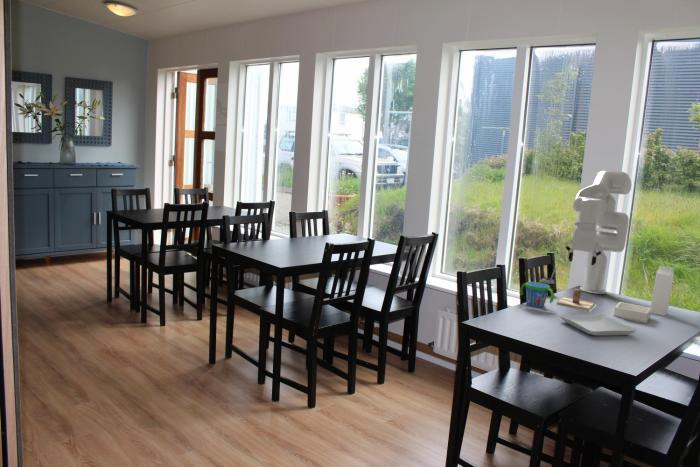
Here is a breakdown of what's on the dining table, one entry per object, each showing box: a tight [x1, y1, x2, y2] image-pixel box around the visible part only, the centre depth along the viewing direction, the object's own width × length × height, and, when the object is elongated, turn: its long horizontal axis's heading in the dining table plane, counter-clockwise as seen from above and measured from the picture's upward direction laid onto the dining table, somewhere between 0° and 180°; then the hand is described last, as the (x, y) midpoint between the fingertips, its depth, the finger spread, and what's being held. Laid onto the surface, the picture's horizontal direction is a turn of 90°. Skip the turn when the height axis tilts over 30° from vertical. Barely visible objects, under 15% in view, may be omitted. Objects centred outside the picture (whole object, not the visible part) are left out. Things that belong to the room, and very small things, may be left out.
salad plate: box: [559, 313, 637, 336], centre depth 238 cm, size 21×21×3 cm
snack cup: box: [519, 281, 555, 308], centre depth 266 cm, size 16×10×10 cm
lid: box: [555, 288, 596, 312], centre depth 273 cm, size 14×14×7 cm
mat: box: [553, 299, 597, 312], centre depth 273 cm, size 16×16×1 cm
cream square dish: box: [613, 301, 651, 325], centre depth 260 cm, size 13×13×4 cm
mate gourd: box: [539, 264, 560, 296], centre depth 290 cm, size 8×8×15 cm
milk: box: [650, 265, 675, 317], centre depth 270 cm, size 6×6×22 cm
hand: (581, 263), depth 270 cm, fingers open, 9 cm apart
